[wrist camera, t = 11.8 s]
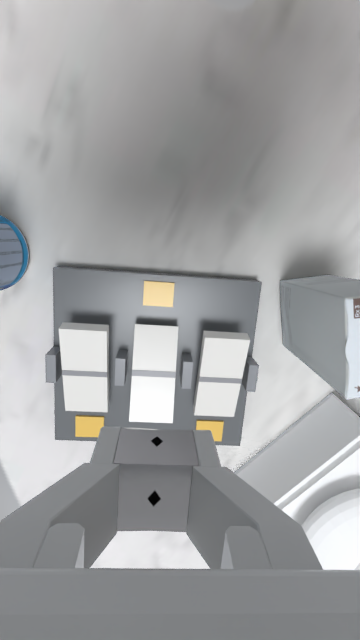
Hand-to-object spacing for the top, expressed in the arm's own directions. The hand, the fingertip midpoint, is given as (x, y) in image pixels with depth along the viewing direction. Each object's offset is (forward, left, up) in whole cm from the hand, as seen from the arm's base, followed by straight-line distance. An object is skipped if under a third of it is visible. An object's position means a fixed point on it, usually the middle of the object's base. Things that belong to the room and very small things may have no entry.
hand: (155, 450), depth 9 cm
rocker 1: (+8, -7, -25) cm, 27 cm away
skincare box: (+1, +17, -29) cm, 34 cm away
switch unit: (+8, 0, -29) cm, 30 cm away
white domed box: (+24, +23, -30) cm, 44 cm away
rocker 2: (+8, 0, -25) cm, 26 cm away
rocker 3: (+8, +7, -25) cm, 27 cm away
